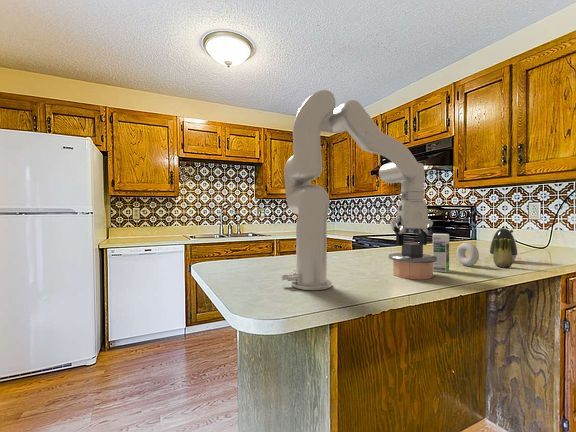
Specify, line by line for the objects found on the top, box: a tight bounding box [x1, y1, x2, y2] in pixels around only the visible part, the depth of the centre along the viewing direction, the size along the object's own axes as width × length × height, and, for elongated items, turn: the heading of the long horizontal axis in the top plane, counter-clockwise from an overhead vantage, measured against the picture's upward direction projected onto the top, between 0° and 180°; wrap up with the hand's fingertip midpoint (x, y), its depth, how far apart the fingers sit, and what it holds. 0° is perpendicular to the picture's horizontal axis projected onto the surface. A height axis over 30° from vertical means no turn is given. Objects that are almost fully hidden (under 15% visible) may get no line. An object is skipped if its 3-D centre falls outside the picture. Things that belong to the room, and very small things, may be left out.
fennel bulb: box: [493, 238, 514, 269], centre depth 119 cm, size 6×5×12 cm
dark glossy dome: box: [489, 228, 518, 261], centre depth 133 cm, size 10×10×15 cm
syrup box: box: [432, 233, 450, 274], centre depth 112 cm, size 6×6×14 cm
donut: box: [455, 242, 480, 267], centre depth 122 cm, size 10×4×10 cm, turn 15°
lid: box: [388, 242, 437, 263], centre depth 104 cm, size 16×16×6 cm
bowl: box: [392, 260, 434, 281], centre depth 104 cm, size 13×13×6 cm
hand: (411, 244), depth 104 cm, fingers open, 9 cm apart
